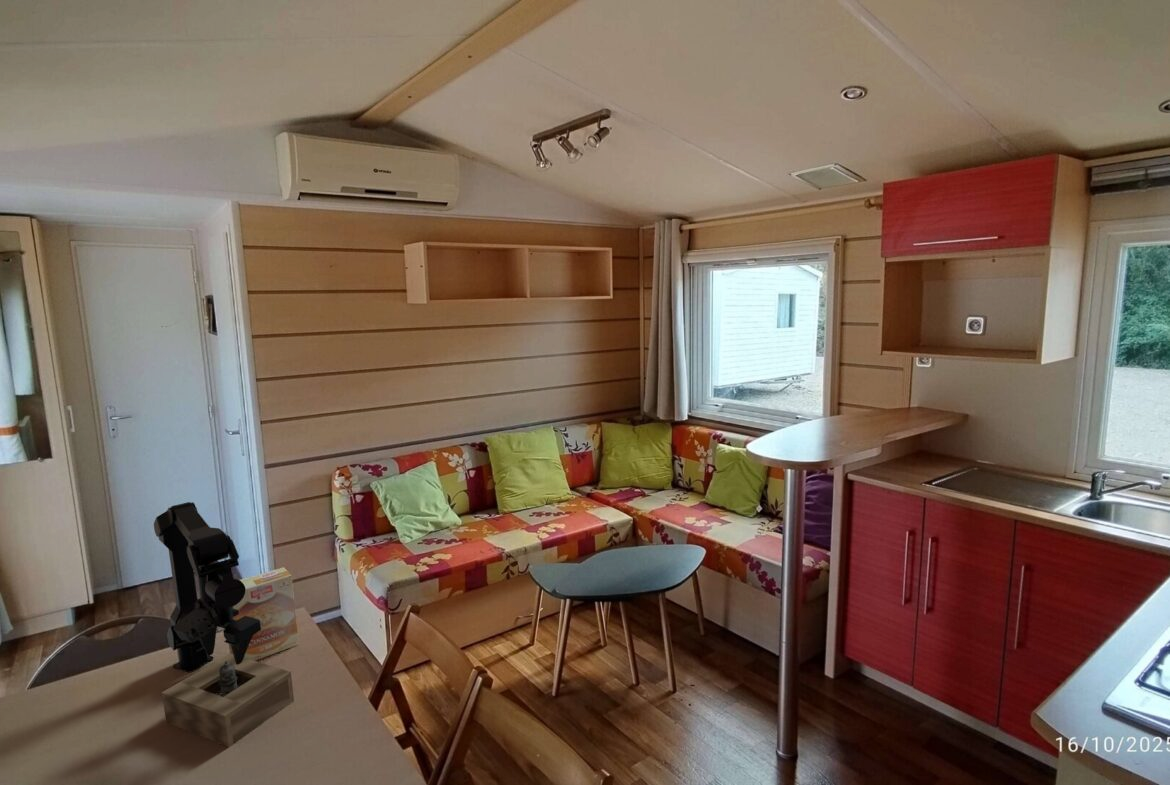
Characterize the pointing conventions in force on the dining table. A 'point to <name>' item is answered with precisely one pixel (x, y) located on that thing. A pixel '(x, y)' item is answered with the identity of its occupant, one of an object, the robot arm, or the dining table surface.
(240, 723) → the beige rectangular hollow block
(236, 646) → the robot arm
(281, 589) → the coffeecake box
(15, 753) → the dining table surface
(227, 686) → the grey chess piece
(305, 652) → the dining table surface
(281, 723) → the dining table surface
